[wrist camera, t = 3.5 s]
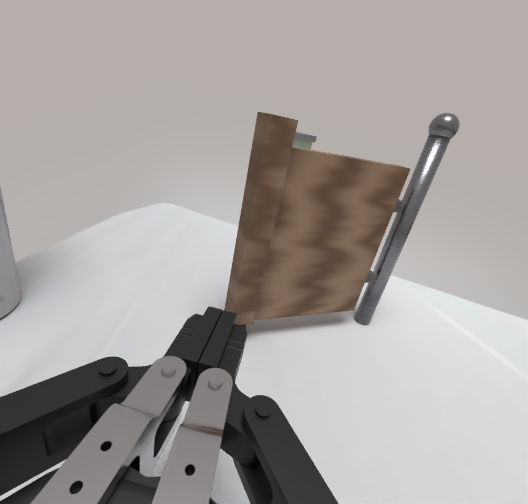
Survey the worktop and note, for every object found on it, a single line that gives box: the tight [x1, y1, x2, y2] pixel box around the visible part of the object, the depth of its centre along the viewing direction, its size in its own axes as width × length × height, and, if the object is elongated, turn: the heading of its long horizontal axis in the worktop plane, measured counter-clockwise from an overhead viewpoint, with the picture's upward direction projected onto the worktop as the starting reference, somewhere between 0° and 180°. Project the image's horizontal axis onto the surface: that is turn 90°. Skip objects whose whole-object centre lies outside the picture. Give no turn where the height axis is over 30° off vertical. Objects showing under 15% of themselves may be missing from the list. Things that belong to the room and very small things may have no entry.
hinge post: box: [354, 113, 459, 325], centre depth 33 cm, size 3×3×26 cm
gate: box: [225, 112, 410, 329], centre depth 30 cm, size 18×3×22 cm, turn 112°
